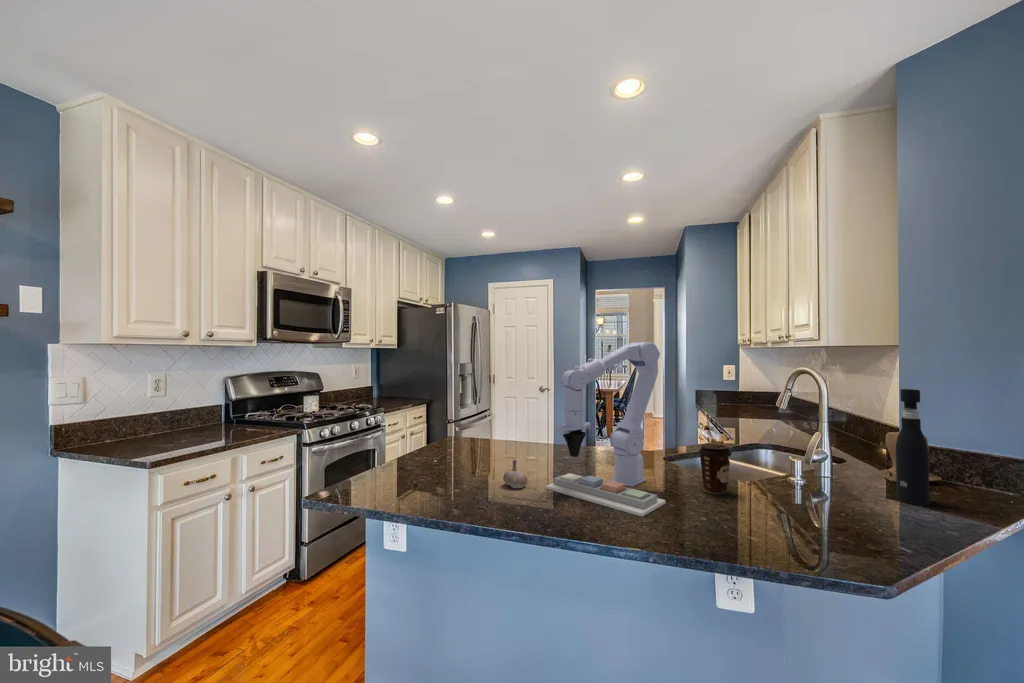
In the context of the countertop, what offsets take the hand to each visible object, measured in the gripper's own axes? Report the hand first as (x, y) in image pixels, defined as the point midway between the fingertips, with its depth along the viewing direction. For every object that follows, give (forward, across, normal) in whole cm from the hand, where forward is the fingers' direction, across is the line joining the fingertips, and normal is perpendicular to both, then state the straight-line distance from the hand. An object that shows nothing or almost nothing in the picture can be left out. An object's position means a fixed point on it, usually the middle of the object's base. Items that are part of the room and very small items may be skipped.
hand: (574, 456), depth 127 cm
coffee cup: (+10, -26, +31) cm, 42 cm away
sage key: (+8, 0, +20) cm, 22 cm away
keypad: (+9, 0, +10) cm, 13 cm away
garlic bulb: (+10, +11, -14) cm, 20 cm away
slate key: (+7, 0, +6) cm, 10 cm away
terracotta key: (+7, 0, +13) cm, 15 cm away
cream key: (+8, 0, -1) cm, 8 cm away
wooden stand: (+10, -80, +70) cm, 106 cm away
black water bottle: (+10, -54, +72) cm, 91 cm away
